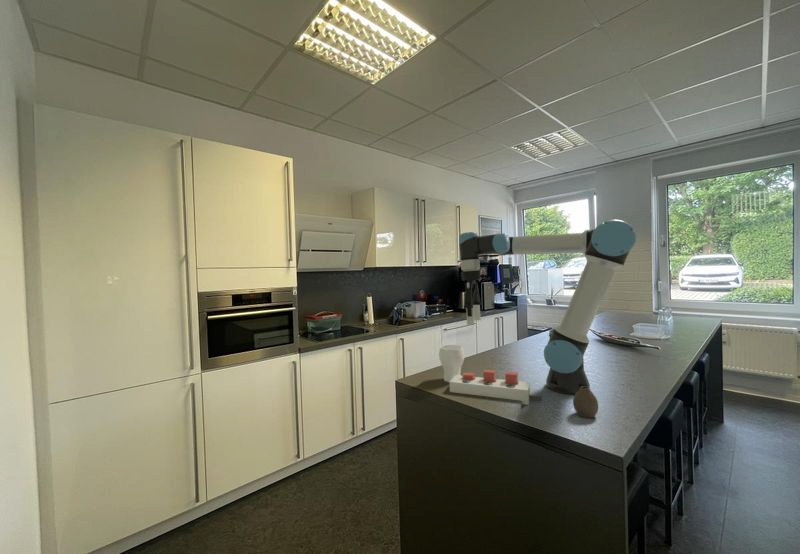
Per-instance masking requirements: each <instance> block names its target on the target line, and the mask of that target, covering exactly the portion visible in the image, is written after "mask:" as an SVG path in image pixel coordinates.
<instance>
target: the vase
mask: <svg viewBox="0 0 800 554" xmlns="http://www.w3.org/2000/svg"><path fill="white" fill-rule="evenodd" d="M572 404H573V405H572V406H573V408H574V411H575V412H576V413H577V414H578V416H580V417H583V418H587V419H590V418H594V417H595V416H596V415H597V414H598V411H599V401H598V398H597V397H596V396H595V394H594V393H593V391H591V387H590V388H589V387H586V386H582V387H580V389H579V391H578V392H577V393H576V394H573V398H572Z"/></svg>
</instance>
